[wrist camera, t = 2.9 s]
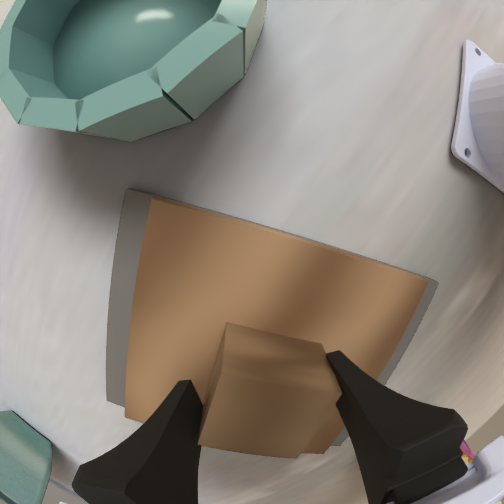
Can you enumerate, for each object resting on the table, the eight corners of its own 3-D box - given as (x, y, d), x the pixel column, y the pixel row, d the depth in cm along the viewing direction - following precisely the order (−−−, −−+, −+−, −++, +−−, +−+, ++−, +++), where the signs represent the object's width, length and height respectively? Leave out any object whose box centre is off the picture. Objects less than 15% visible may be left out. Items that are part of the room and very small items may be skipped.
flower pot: (-3, 420, 17) (-37, 468, 9) (-4, 385, 16) (-51, 444, 7) (58, 467, 19) (33, 522, 10) (71, 445, 17) (37, 516, 9)
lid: (420, 276, 13) (471, 313, 9) (321, 445, 16) (333, 493, 12) (157, 197, 12) (114, 211, 7) (128, 408, 15) (107, 459, 11)
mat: (434, 280, 13) (438, 282, 13) (338, 441, 17) (339, 445, 16) (129, 188, 12) (126, 188, 11) (108, 396, 15) (106, 400, 15)
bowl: (286, -28, 9) (299, -83, 4) (216, 162, 12) (200, 157, 7) (100, -37, 8) (70, -74, 3) (26, 126, 11) (-32, 121, 6)
